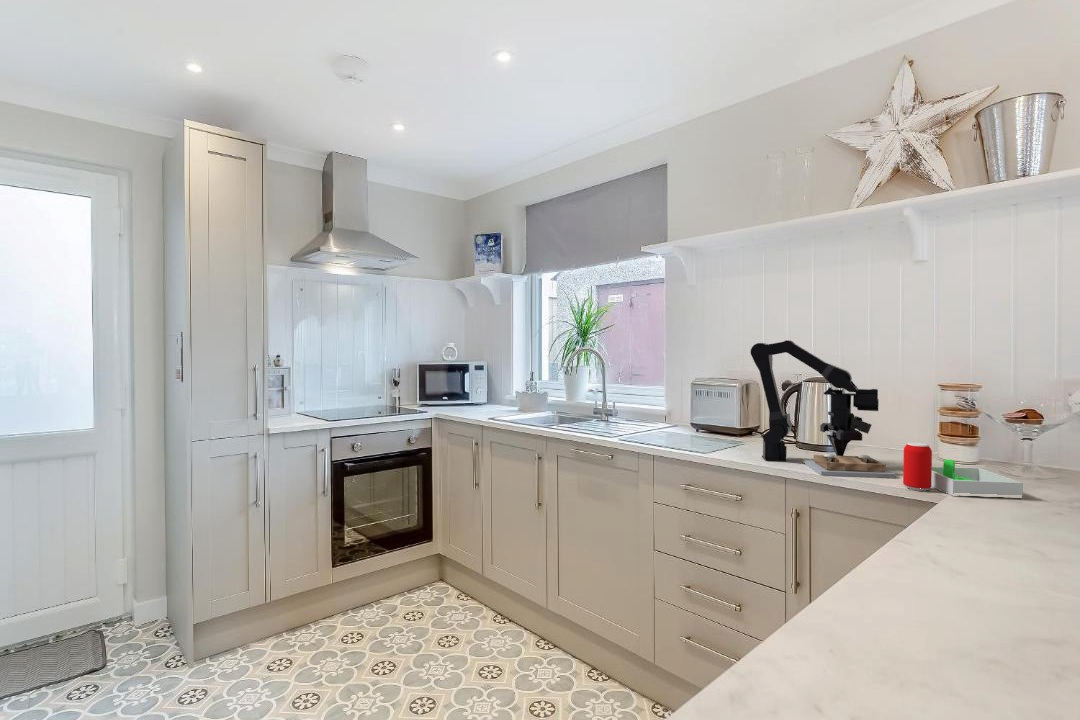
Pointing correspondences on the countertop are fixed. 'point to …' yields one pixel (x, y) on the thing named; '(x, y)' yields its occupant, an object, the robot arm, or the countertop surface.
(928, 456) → the beverage can
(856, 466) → the panel
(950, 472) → the mechanical part
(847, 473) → the boss board
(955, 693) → the countertop surface
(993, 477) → the frame
